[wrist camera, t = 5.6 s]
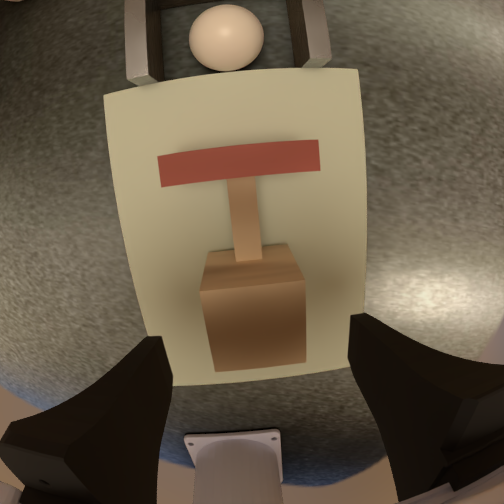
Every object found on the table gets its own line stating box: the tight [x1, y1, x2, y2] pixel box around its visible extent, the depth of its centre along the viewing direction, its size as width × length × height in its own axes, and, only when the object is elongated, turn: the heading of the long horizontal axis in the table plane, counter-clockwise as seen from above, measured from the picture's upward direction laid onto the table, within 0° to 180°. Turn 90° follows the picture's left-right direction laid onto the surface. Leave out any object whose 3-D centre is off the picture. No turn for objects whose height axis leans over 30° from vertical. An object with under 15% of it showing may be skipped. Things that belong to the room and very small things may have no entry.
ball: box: [189, 4, 264, 71], centre depth 13 cm, size 4×4×4 cm
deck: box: [104, 68, 367, 386], centre depth 17 cm, size 18×13×2 cm
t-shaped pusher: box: [157, 140, 321, 372], centre depth 14 cm, size 9×6×4 cm, turn 5°
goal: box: [125, 0, 332, 86], centre depth 12 cm, size 6×9×4 cm, turn 95°
